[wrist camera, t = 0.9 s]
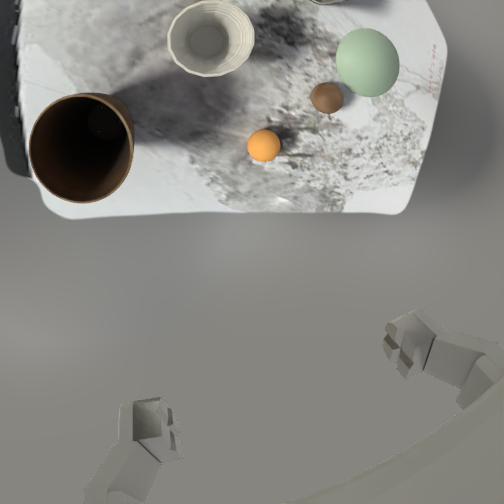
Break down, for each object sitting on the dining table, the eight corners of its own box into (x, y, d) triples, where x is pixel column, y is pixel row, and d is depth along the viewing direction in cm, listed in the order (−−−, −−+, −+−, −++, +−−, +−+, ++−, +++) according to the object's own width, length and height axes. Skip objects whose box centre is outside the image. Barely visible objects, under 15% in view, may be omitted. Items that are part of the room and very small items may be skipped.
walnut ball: (324, 74, 44) (338, 79, 40) (340, 98, 47) (354, 105, 43) (300, 91, 46) (312, 97, 41) (317, 115, 49) (329, 123, 45)
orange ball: (263, 119, 48) (270, 128, 44) (281, 141, 51) (290, 152, 47) (238, 139, 50) (243, 150, 46) (257, 160, 53) (264, 172, 49)
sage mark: (376, 17, 37) (377, 17, 37) (408, 76, 45) (409, 76, 45) (321, 50, 41) (321, 50, 41) (359, 109, 49) (360, 110, 49)
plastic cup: (254, 31, 38) (273, 26, 29) (217, 81, 42) (224, 91, 33) (197, 0, 32) (198, -15, 23) (160, 53, 37) (150, 54, 28)
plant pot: (167, 117, 45) (157, 147, 33) (111, 175, 49) (88, 223, 37) (108, 61, 36) (72, 70, 24) (55, 126, 40) (12, 160, 28)
